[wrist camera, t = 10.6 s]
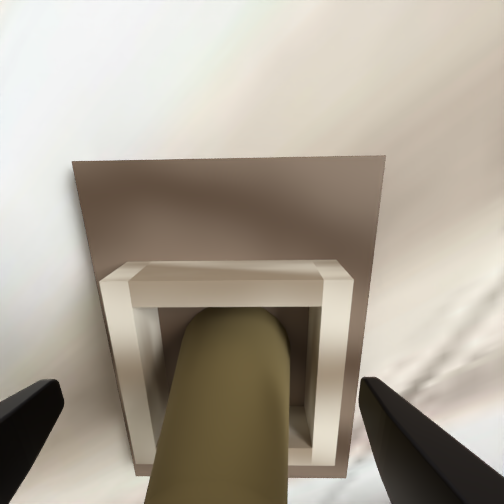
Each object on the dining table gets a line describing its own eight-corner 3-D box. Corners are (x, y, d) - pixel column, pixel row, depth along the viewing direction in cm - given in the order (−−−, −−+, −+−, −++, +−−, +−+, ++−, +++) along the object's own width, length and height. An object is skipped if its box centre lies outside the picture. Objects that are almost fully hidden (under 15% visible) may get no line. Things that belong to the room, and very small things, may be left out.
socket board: (340, 459, 19) (360, 526, 15) (143, 457, 19) (117, 523, 15) (374, 156, 13) (419, 151, 9) (87, 162, 13) (24, 158, 10)
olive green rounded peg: (294, 389, 15) (373, 861, 5) (192, 397, 16) (60, 854, 5) (285, 295, 14) (377, 714, 3) (171, 307, 14) (-92, 718, 3)
